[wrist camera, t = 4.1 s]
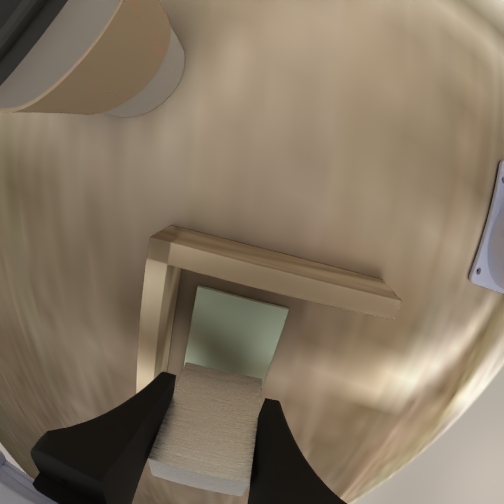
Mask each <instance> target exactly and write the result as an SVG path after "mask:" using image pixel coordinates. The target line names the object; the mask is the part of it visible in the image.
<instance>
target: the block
mask: <svg viewBox="0 0 504 504" xmlns="http://www.w3.org/2000/svg"><path fill="white" fill-rule="evenodd" d="M262 381H263V379H262V378H256V377H251V376H246V375H241V374H236V373H232V372H227V371H223V370H218V369H214V368H210V367H205V366H201V365H197V364H193V363H189V362H186V363H185V366H184V368H183V371H182V373H181V376H180V378H179V381H178V383H177V386H176V388H175V391H174V394H173V397H172V400H171V402H170V405H169V408H168V410H167V412H166V414H165V416H164V419H163V421H162V424H161V426H160V429H159V432H158V434H157V437H156V439H155V442H154V444H153V447H152V450H151V452H150V455H149V458H148V459H149V464H150V468H151V472H152V475H153V476H156V477H160V478H163V479H166V480H170V481H173V482H177V483H180V484H184V485H188V486H192V487H196V488H201V489H205V490H210V491H215V492H220V493H225V494H231V495H236V496H242V495H243V493H244V492H245V490H246V488H247V486H248V485H249V483H250V477H251V469H252V462H253V454H254V447H255V439H256V431H257V423H258V415H259V406H260V398H261V389H262Z"/></svg>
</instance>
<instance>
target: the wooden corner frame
mask: <svg viewBox="0 0 504 504" xmlns="http://www.w3.org/2000/svg"><path fill="white" fill-rule="evenodd" d="M182 268H183V269H186V270H190V271H193V272H197V273H201V274H205V275H208V276H212V277H216V278H220V279H223V280H227V281H231V282H235V283H239V284H243V285H246V286H250V287H254V288H258V289H262V290H266V291H270V292H274V293H278V294H282V295H286V296H290V297H295V298H299V299H303V300H307V301H311V302H316V303H320V304H324V305H328V306H333V307H337V308H341V309H346V310H350V311H355V312H359V313H364V314H368V315H373V316H377V317H382V318H387V319H391V320H394V319H395V317H396V314H397V312H398V310H399V307H400V305H401V302H402V300H401V299H400V298H399V297H398V296H397V295H396V294H395V293H394V292H393V290H392V289H391V288H390V287H389V286H388V285H387V284H386V283H385V282H384V281H383V280H382V279H378V278H374V277H371V276H367V275H363V274H359V273H355V272H352V271H348V270H344V269H340V268H336V267H333V266H329V265H325V264H321V263H317V262H313V261H309V260H306V259H302V258H298V257H294V256H290V255H286V254H282V253H279V252H275V251H271V250H267V249H263V248H259V247H255V246H251V245H247V244H244V243H240V242H236V241H232V240H228V239H224V238H220V237H216V236H212V235H208V234H204V233H200V232H196V231H192V230H189V229H185V228H181V227H177V226H173V225H171V226H169V227H167V228H165V229H163V230H161V231H160V232H158V233H156V234H154V235H152V236H151V237H150V239H149V246H148V253H147V260H146V268H145V276H144V285H143V294H142V304H141V315H140V328H139V342H138V360H137V391H136V394H137V393H138V392H139V391H141V390H142V389H143V388H144V387H146V386H147V385H148V384H149V383H150V382H151V381H153V380H154V379H155V378H156V377H157V376H158V375H159V374H160V373H161V372H163V371H164V372H167V366H168V358H169V350H170V342H171V335H172V328H173V321H174V314H175V307H176V301H177V295H178V288H179V282H180V276H181V271H182ZM288 311H289V308H287V307H283V306H279V305H275V304H271V303H267V302H263V301H259V300H255V299H251V298H247V297H243V296H239V295H235V294H231V293H228V292H224V291H220V290H216V289H213V288H209V287H205V286H201V285H198V288H197V293H196V298H195V303H194V309H193V314H192V320H191V326H190V331H189V337H188V343H187V349H186V355H185V361H184V366H185V363H186V362H189V363H193V364H197V365H201V366H205V367H210V368H214V369H218V370H223V371H227V372H232V373H236V374H241V375H246V376H251V377H256V378H262V379H263V381H262V386H263V383H264V380H265V378H266V375H267V372H268V369H269V366H270V364H271V361H272V358H273V355H274V352H275V349H276V347H277V344H278V341H279V338H280V335H281V332H282V329H283V326H284V323H285V320H286V317H287V314H288ZM183 368H184V367H183Z"/></svg>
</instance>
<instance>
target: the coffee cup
mask: <svg viewBox="0 0 504 504" xmlns="http://www.w3.org/2000/svg"><path fill="white" fill-rule="evenodd" d="M184 67H185V55H184V50H183V47H182V45H181V43H180V42H179V40H178V38H177V36H176V35H175V33H174V31H173V29H172V28H171V26H170V21H169V18H168V16H167V14H166V12H165V10H164V8H163V7H162V5H161V3H160V1H159V0H0V112H5V113H9V112H41V113H68V114H85V115H91V114H102V115H110V116H118V117H134V116H139V115H142V114H145V113H147V112H149V111H151V110H153V109H155V108H156V107H158V106H159V105H161V104H162V103H163V102H164V101H165V100H166V99H167V98H168V97H169V96H170V95H171V94H172V93H173V92H174V90H175V89H176V87H177V86H178V84H179V82H180V80H181V78H182V75H183V71H184Z"/></svg>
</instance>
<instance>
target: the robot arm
mask: <svg viewBox="0 0 504 504" xmlns="http://www.w3.org/2000/svg"><path fill="white" fill-rule="evenodd" d="M502 178H503V182H502ZM477 269H478V271H477V273H476V270H477ZM469 280H470V282H472V283H473V284H476V285H479V286H482V287H485V288H488V289H491V290H494V291H497V292H500V293H503V294H504V160H503V161H501V162H500V164H499V169H498V175H497V180H496V185H495V190H494V194H493V199H492V203H491V207H490V211H489V215H488V219H487V223H486V226H485V230H484V233H483V236H482V240H481V243H480V246H479V249H478V252H477V255H476V258H475V261H474V264H473V267H472V270H471V272H470V275H469ZM175 379H176V375H173V374H170V373H167V372H164V371H163V372H161V373H160V374H159V375H158V376H157V377H156V378H155V379H154V380H153V381H151V382H150V383H149V384H148V385H147V386H146V387H144V388H143V389H142V390H141V391H139V392H138V393H137V394H136V395H134V396H133V397H132V398H130V399H129V400H127V401H126V402H124V403H123V404H121V405H120V406H118V407H116V408H114V409H113V410H111V411H109V412H107V413H105V414H103V415H101V416H99V417H96V418H94V419H92V420H89V421H87V422H84V423H80V424H77V425H74V426H71V427H67V428H62V429H57V430H52V431H47V432H46V433H45V434H44V435H43V436H42V437H41V438H40V439H39V440H38V442H37V443H36V444H35V446H34V447H33V448H32V450H31V456H32V459H33V461H34V463H35V465H36V466H37V468H38V470H39V472H40V473H39V474H38V476H37V477H36V479H35V480H34V479H33V478H31V477H30V476H28V475H27V474H25V473H24V472H22V471H21V470H19V469H18V468H16V467H15V466H14V465H12V464H11V463H10V462H8V461H7V460H6V458H5V456H4V455H3V453H2V452H1V451H0V504H132V501H133V498H134V495H135V492H136V489H137V486H138V483H139V480H140V477H141V474H142V472H143V469H144V466H145V463H146V461H147V459H148V457H149V455H150V452H151V450H152V447H153V444H154V442H155V439H156V437H157V434H158V432H159V429H160V426H161V424H162V421H163V419H164V416H165V414H166V412H167V410H168V408H169V405H170V402H171V400H172V397H173V394H174V386H175ZM248 504H347V503H345V502H344V501H343V500H341V499H340V498H339V497H338V496H337V495H335V494H334V493H333V492H332V491H331V490H330V489H329V488H328V487H327V486H326V485H325V484H324V482H323V481H322V480H321V479H320V478H319V477H318V476H317V474H316V473H315V472H314V470H313V469H312V468H311V466H310V465H309V464H308V462H307V461H306V459H305V458H304V456H303V454H302V453H301V451H300V449H299V447H298V445H297V444H296V442H295V440H294V438H293V435H292V433H291V431H290V429H289V426H288V424H287V421H286V419H285V416H284V413H283V411H282V407H281V404H280V402H279V401H277V400H272V399H267V398H265V401H264V403H263V406H262V408H261V411H260V413H259V416H258V423H257V431H256V439H255V447H254V454H253V462H252V469H251V477H250V491H249V498H248Z"/></svg>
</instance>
